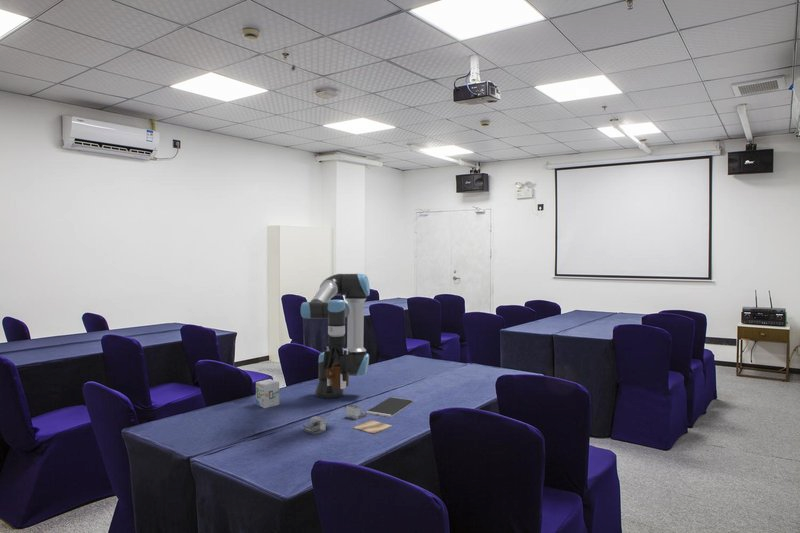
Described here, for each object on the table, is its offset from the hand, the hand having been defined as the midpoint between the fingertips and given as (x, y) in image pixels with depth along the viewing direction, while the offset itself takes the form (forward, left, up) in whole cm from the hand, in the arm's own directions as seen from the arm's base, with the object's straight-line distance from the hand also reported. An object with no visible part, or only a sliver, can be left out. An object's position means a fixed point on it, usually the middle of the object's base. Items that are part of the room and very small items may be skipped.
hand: (336, 386), depth 222 cm
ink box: (-47, -1, -17) cm, 50 cm away
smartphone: (+4, +33, -17) cm, 37 cm away
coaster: (+16, +6, -16) cm, 24 cm away
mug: (0, 0, -1) cm, 1 cm away
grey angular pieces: (0, 0, -16) cm, 16 cm away
